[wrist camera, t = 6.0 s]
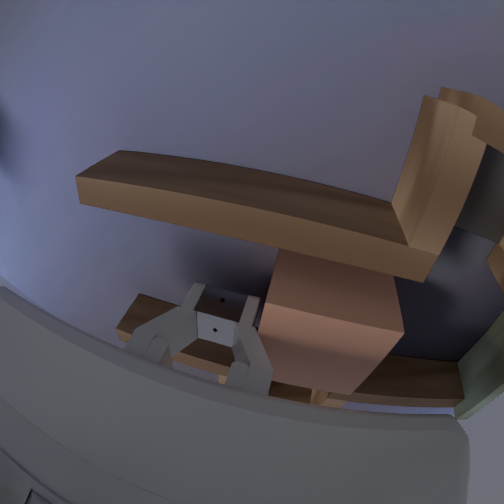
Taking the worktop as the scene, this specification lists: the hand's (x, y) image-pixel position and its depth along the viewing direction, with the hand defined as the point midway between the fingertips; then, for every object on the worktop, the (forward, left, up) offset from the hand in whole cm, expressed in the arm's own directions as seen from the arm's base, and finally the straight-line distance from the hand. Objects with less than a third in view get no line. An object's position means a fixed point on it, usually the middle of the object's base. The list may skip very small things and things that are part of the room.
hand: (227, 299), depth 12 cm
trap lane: (0, +5, -2) cm, 6 cm away
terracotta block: (0, +4, -2) cm, 5 cm away
